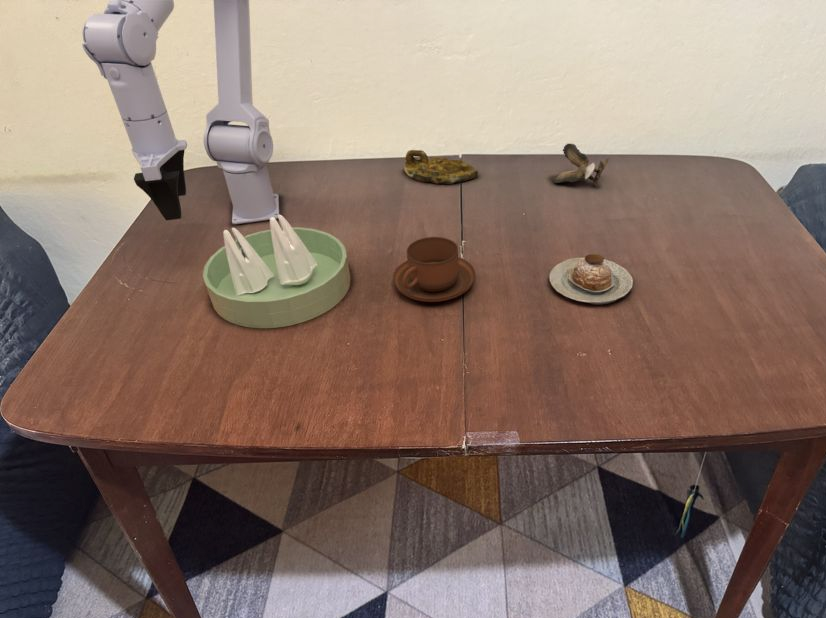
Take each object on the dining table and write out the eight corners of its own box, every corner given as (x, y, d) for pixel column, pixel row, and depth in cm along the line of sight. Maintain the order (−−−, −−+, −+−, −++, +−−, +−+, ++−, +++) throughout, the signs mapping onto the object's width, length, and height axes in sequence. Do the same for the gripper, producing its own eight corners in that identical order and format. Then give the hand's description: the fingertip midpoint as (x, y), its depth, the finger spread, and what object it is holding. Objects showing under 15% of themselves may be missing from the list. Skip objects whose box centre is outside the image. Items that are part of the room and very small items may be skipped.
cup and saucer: (458, 316, 89) (456, 279, 85) (380, 300, 92) (375, 264, 88) (486, 271, 97) (486, 236, 93) (414, 259, 101) (411, 223, 97)
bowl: (216, 262, 101) (208, 237, 98) (343, 244, 105) (339, 219, 102) (207, 339, 86) (197, 312, 83) (357, 315, 89) (353, 288, 87)
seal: (482, 172, 127) (410, 166, 130) (483, 148, 125) (409, 142, 127) (473, 187, 120) (396, 181, 122) (473, 162, 117) (395, 156, 120)
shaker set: (319, 272, 97) (306, 206, 90) (318, 288, 94) (304, 220, 87) (238, 281, 96) (218, 214, 89) (235, 296, 93) (214, 229, 86)
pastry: (585, 318, 87) (588, 290, 84) (532, 278, 95) (533, 252, 92) (649, 291, 92) (654, 263, 89) (594, 255, 100) (597, 229, 97)
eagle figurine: (607, 169, 122) (563, 154, 124) (611, 147, 115) (564, 131, 117) (591, 202, 120) (547, 186, 122) (594, 182, 113) (547, 166, 115)
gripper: (169, 129, 80) (201, 225, 89) (180, 93, 91) (207, 182, 100) (110, 135, 79) (147, 233, 88) (128, 98, 90) (160, 188, 99)
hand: (176, 206), depth 94 cm, fingers open, 7 cm apart
